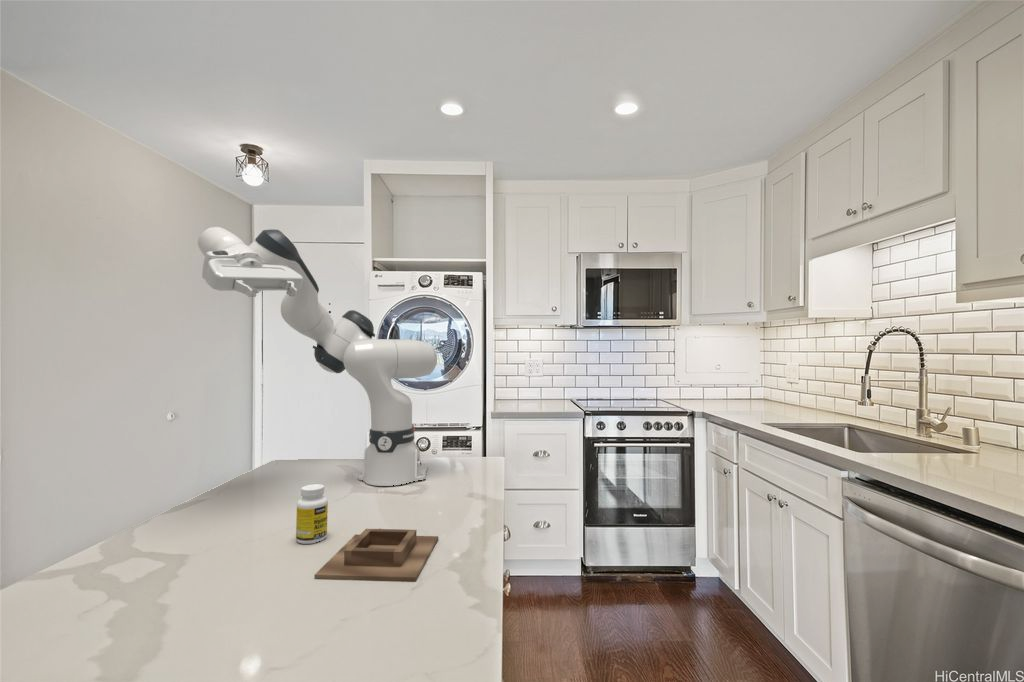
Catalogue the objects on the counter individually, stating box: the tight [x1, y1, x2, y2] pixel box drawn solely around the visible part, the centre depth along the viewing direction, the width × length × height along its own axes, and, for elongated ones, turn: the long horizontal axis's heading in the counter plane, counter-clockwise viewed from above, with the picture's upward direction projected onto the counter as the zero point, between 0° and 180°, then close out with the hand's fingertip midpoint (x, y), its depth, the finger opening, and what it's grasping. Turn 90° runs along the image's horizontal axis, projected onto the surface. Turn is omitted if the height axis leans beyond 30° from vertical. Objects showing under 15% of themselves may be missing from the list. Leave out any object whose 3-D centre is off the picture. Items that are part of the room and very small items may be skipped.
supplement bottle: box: [295, 483, 329, 545], centre depth 88 cm, size 5×5×10 cm
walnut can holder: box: [314, 528, 439, 582], centre depth 80 cm, size 16×16×3 cm
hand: (274, 293), depth 104 cm, fingers open, 8 cm apart
